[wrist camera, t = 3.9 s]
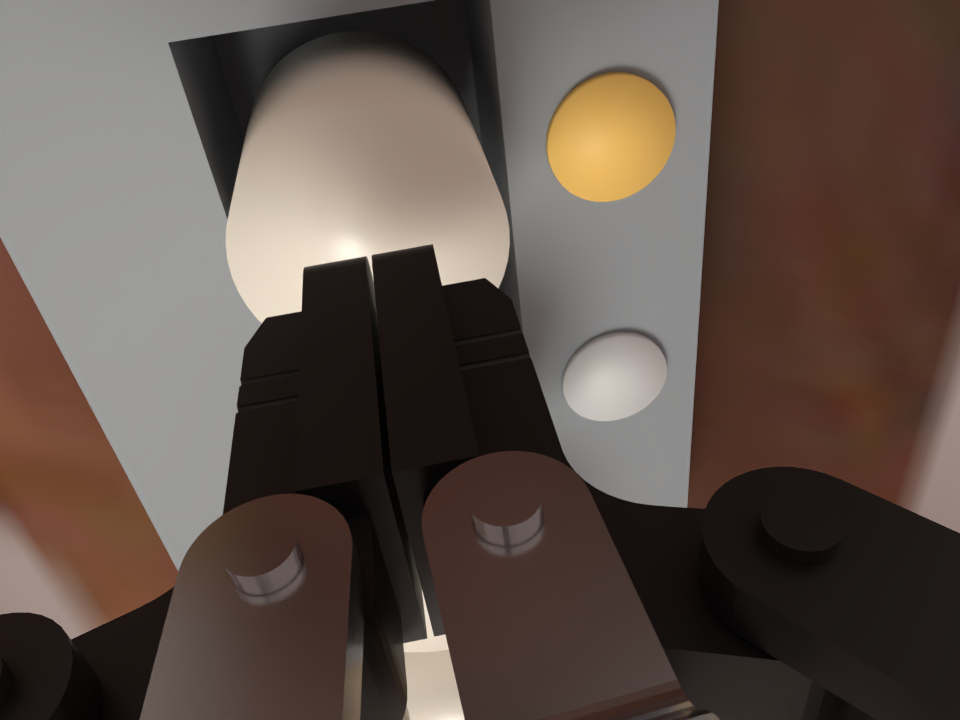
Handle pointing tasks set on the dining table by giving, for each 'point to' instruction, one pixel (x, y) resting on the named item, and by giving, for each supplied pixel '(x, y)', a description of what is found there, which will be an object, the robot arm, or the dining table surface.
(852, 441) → the dining table surface
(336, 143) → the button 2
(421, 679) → the button
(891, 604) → the robot arm
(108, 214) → the console
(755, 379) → the dining table surface
